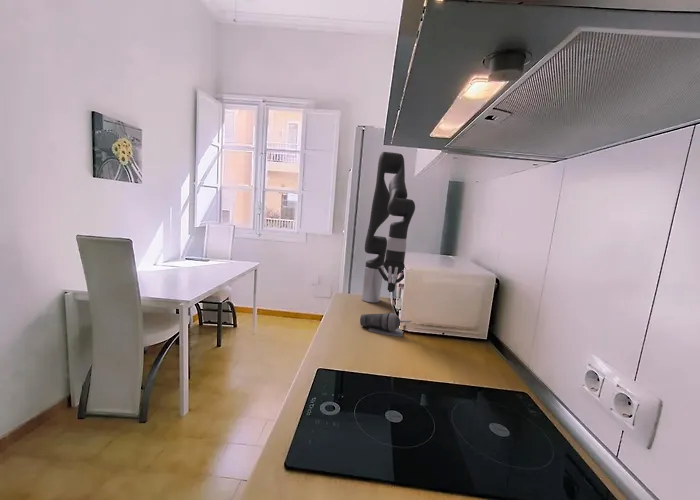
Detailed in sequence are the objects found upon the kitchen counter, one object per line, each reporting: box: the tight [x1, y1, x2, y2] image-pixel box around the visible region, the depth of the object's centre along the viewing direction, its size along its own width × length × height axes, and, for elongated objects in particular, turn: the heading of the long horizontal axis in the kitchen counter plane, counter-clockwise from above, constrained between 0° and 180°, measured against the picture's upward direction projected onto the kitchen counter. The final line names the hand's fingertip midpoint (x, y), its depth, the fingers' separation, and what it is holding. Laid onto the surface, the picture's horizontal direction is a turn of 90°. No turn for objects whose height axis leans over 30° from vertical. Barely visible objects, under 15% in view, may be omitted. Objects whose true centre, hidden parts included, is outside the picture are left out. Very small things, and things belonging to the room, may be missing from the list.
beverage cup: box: [359, 312, 413, 331], centre depth 144 cm, size 7×7×20 cm
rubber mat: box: [368, 327, 404, 338], centre depth 149 cm, size 16×13×1 cm
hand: (390, 291), depth 147 cm, fingers closed
